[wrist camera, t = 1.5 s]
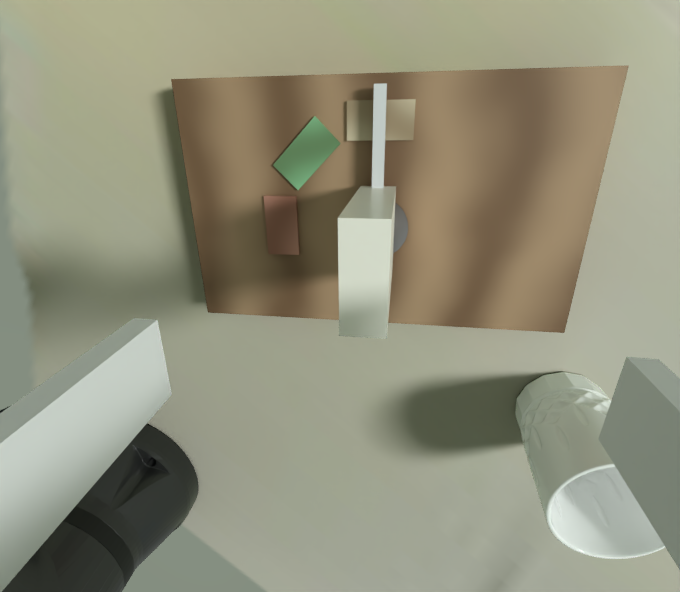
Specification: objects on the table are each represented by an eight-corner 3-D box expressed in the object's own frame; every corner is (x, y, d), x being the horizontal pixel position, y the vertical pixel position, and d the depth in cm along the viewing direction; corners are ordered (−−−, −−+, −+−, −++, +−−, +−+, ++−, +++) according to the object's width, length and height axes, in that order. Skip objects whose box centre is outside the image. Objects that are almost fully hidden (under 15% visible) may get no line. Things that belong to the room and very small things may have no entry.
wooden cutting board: (221, 299, 33) (206, 313, 31) (190, 83, 27) (169, 78, 24) (551, 316, 29) (565, 334, 27) (606, 71, 23) (631, 64, 21)
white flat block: (359, 268, 27) (339, 335, 18) (361, 85, 23) (335, 60, 14) (392, 270, 27) (386, 338, 18) (400, 84, 22) (398, 58, 14)
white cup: (486, 410, 34) (517, 515, 24) (557, 346, 30) (623, 441, 21) (558, 457, 34) (614, 576, 25) (634, 400, 31) (729, 513, 22)
